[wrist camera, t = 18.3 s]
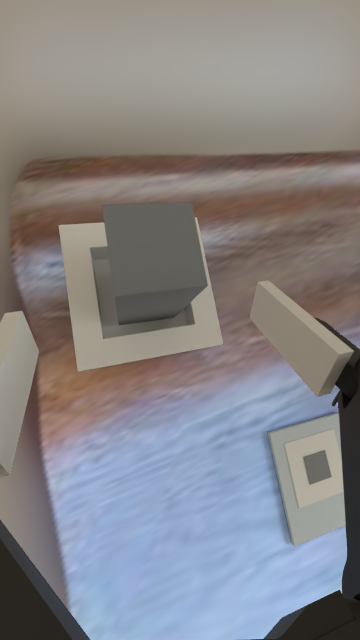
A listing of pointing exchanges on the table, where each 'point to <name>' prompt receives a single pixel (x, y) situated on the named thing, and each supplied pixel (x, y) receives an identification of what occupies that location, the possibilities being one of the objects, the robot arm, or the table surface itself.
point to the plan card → (310, 476)
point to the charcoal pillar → (153, 259)
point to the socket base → (101, 315)
